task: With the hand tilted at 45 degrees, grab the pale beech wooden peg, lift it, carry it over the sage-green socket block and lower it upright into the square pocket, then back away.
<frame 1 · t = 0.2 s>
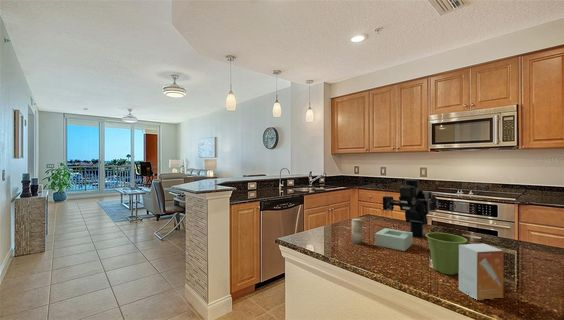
hand: (398, 208, 110), 17 cm above the counter, tool horizontal, fingers open, 9 cm apart
plant pot: (445, 271, 88), on the counter
socket block: (394, 244, 116), on the counter
beech peg: (356, 242, 119), on the counter
small box: (480, 295, 73), on the counter
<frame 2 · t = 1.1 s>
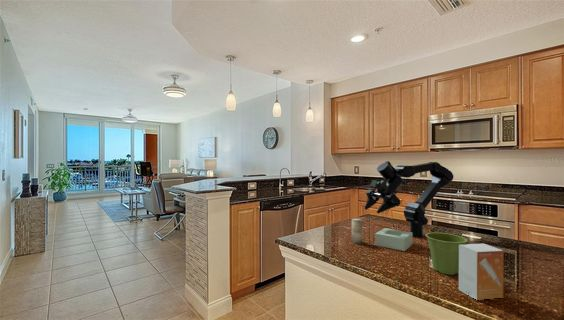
hand: (371, 210, 121), 14 cm above the counter, tool tilted 45°, fingers open, 9 cm apart
nothing on the counter moved.
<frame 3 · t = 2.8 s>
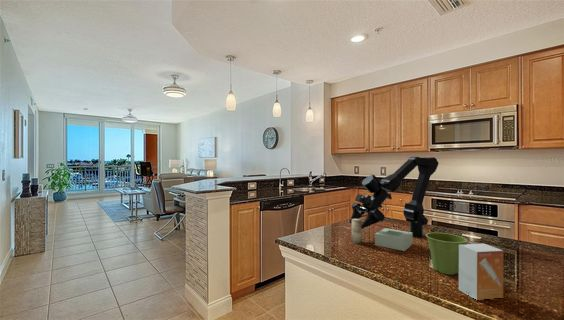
hand: (355, 225, 119), 8 cm above the counter, tool tilted 45°, fingers open, 9 cm apart
nothing on the counter moved.
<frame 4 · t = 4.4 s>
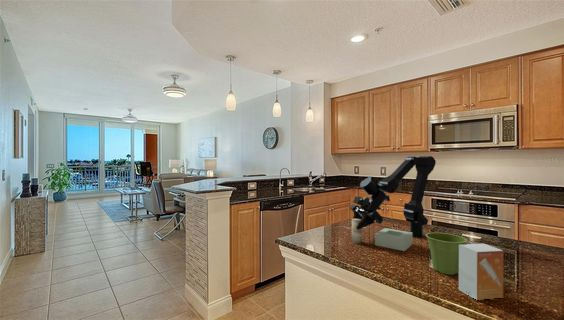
hand: (354, 227, 119), 7 cm above the counter, tool tilted 45°, fingers closed on beech peg, 4 cm apart
beech peg: (356, 242, 119), on the counter, touching gripper
everything else where it was.
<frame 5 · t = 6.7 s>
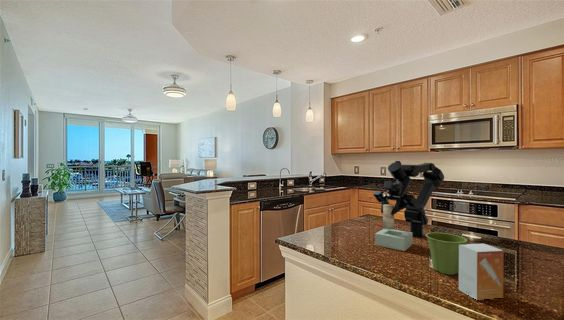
hand: (386, 213, 115), 14 cm above the counter, tool tilted 45°, fingers closed on beech peg, 4 cm apart
beech peg: (388, 228, 116), point 7 cm above the counter, touching gripper
everything else where it was.
when the fingers open (8 cm above the counter, at t = 9.0 s): beech peg stays where it is, resting on socket block.
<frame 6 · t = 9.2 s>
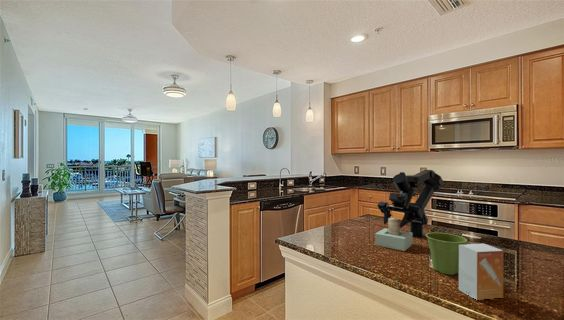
hand: (392, 225, 115), 9 cm above the counter, tool tilted 45°, fingers open, 7 cm apart
beech peg: (394, 241, 116), point 1 cm above the counter, touching socket block
everything else where it was.
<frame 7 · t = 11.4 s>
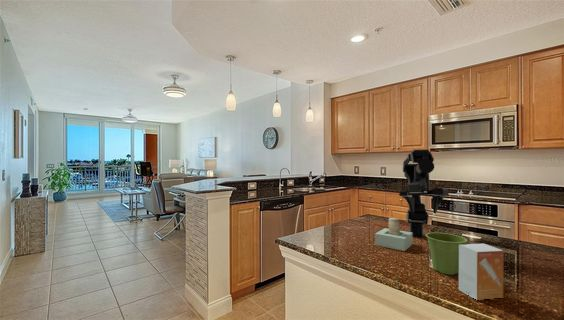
hand: (423, 213, 113), 14 cm above the counter, tool pointing down, fingers open, 9 cm apart
nothing on the counter moved.
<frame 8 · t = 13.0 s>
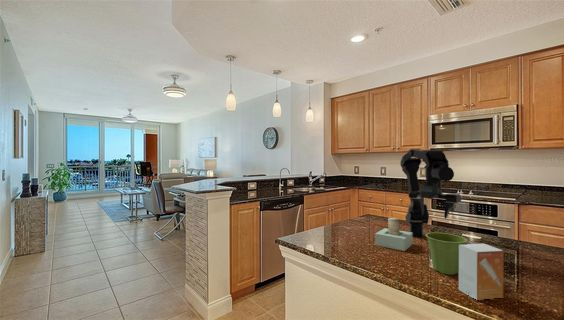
hand: (433, 216, 112), 13 cm above the counter, tool pointing down, fingers open, 9 cm apart
nothing on the counter moved.
at the end: beech peg 0.0 cm off-centre on the socket block, point 1.0 cm above the socket block's base; beech peg tilted 1°; the gripper is holding nothing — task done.
